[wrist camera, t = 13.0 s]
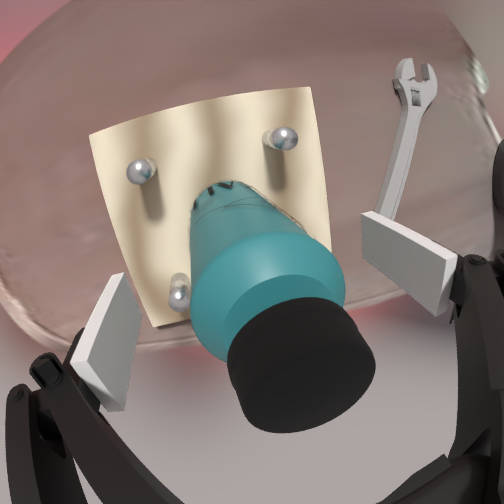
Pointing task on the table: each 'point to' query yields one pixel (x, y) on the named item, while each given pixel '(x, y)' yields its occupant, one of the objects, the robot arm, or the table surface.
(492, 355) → the robot arm
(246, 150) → the birch board
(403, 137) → the adjustable wrench
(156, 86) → the table surface
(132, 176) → the steel pegs
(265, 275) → the beverage bottle
